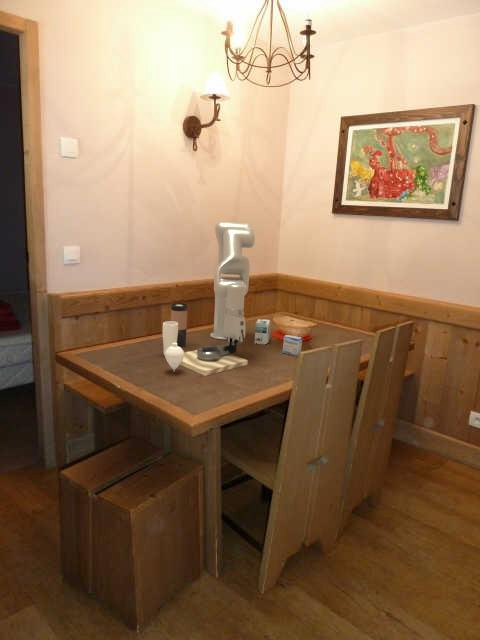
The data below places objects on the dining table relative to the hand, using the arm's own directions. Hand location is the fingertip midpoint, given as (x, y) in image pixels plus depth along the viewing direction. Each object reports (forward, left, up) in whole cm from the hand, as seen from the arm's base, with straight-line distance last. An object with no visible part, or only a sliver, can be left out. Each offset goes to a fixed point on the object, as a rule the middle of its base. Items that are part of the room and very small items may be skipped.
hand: (232, 353), depth 204 cm
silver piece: (+6, -4, -1) cm, 7 cm away
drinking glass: (+18, -21, -4) cm, 28 cm away
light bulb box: (-35, -14, -4) cm, 38 cm away
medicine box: (-31, +9, -4) cm, 32 cm away
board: (+10, -4, -4) cm, 11 cm away
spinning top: (+29, -3, -4) cm, 29 cm away
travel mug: (+5, -32, -4) cm, 33 cm away
